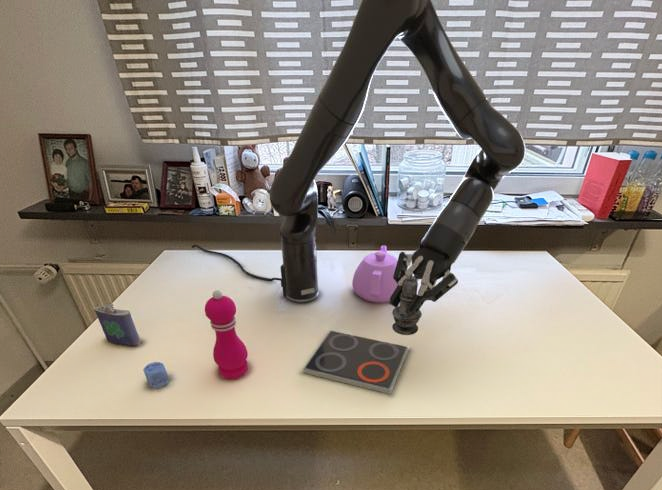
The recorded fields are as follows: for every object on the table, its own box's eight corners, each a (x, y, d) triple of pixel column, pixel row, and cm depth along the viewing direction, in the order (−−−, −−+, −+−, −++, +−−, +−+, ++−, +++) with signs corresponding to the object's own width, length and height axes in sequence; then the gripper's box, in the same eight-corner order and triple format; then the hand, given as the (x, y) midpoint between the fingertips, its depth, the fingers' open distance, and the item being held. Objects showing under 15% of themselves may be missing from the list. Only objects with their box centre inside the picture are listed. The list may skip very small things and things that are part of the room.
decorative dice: (170, 383, 88) (165, 369, 85) (151, 390, 86) (145, 376, 83) (166, 373, 90) (161, 359, 88) (147, 380, 89) (141, 365, 86)
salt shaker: (418, 337, 81) (426, 283, 73) (389, 334, 81) (393, 279, 74) (420, 321, 85) (428, 268, 78) (392, 318, 86) (397, 265, 78)
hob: (303, 373, 91) (303, 367, 90) (330, 334, 103) (330, 329, 102) (390, 394, 86) (390, 388, 85) (408, 351, 98) (408, 345, 97)
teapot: (402, 313, 111) (406, 272, 103) (346, 308, 113) (346, 267, 105) (407, 276, 128) (411, 239, 120) (358, 272, 130) (358, 235, 122)
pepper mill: (221, 384, 88) (201, 303, 75) (214, 365, 93) (193, 287, 80) (254, 374, 90) (239, 295, 78) (245, 356, 95) (230, 279, 83)
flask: (143, 341, 100) (129, 303, 93) (135, 348, 97) (120, 310, 91) (112, 335, 101) (95, 298, 95) (103, 342, 99) (85, 304, 93)
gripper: (414, 212, 79) (365, 288, 80) (475, 234, 70) (420, 318, 72) (428, 232, 85) (383, 302, 86) (486, 254, 77) (435, 331, 78)
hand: (400, 309), depth 79 cm, fingers closed on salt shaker, 3 cm apart
